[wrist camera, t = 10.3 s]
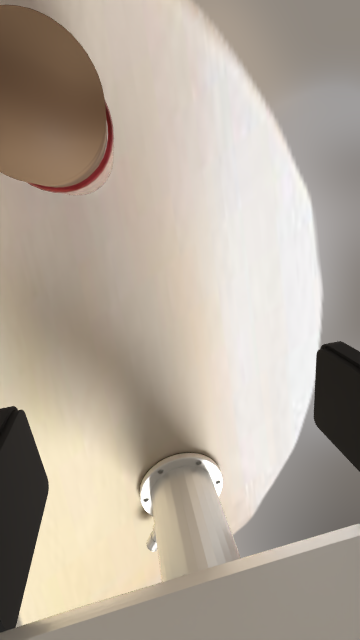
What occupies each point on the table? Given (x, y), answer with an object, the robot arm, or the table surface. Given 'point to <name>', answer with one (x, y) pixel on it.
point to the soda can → (98, 175)
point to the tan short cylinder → (47, 102)
